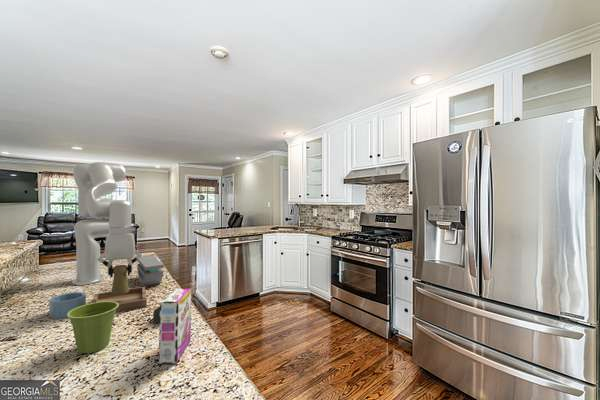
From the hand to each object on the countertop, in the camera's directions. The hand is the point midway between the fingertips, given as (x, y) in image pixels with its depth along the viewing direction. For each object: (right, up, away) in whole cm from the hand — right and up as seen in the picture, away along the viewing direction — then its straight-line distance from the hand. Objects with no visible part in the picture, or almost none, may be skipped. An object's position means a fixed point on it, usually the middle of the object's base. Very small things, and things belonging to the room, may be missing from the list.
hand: (120, 275), depth 107 cm
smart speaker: (+25, -13, -12) cm, 31 cm away
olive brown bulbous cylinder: (0, -7, 0) cm, 7 cm away
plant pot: (+13, -12, -30) cm, 35 cm away
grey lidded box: (-4, -12, +28) cm, 31 cm away
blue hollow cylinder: (-14, -12, -8) cm, 20 cm away
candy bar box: (+38, -13, -33) cm, 52 cm away
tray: (0, -12, 0) cm, 12 cm away
